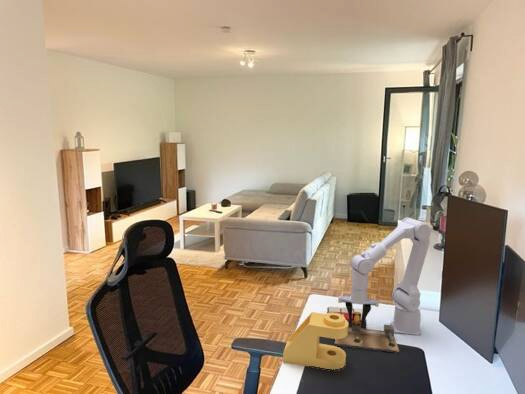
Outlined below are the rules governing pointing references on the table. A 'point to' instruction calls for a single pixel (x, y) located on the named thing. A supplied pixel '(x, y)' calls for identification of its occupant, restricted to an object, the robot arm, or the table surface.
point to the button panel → (346, 314)
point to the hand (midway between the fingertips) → (356, 321)
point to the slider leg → (356, 324)
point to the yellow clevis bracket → (317, 342)
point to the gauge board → (371, 339)
